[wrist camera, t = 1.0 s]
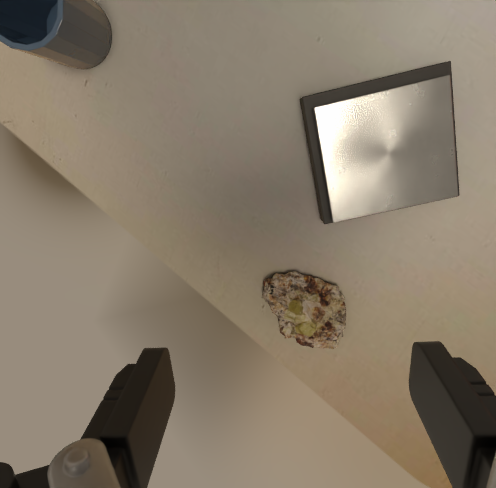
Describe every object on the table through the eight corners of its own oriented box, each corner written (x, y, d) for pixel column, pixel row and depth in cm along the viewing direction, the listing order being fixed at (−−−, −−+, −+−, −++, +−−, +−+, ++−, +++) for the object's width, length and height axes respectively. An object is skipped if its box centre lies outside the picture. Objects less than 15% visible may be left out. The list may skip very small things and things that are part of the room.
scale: (299, 98, 35) (303, 95, 32) (440, 64, 34) (458, 58, 31) (321, 219, 39) (326, 227, 36) (449, 192, 38) (466, 198, 34)
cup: (35, 5, 33) (-41, -38, 25) (98, -13, 33) (42, -63, 24) (60, 76, 35) (-4, 59, 27) (120, 60, 35) (75, 38, 26)
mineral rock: (373, 313, 39) (325, 374, 39) (356, 303, 43) (313, 358, 43) (295, 249, 38) (245, 312, 37) (285, 246, 42) (241, 303, 42)
